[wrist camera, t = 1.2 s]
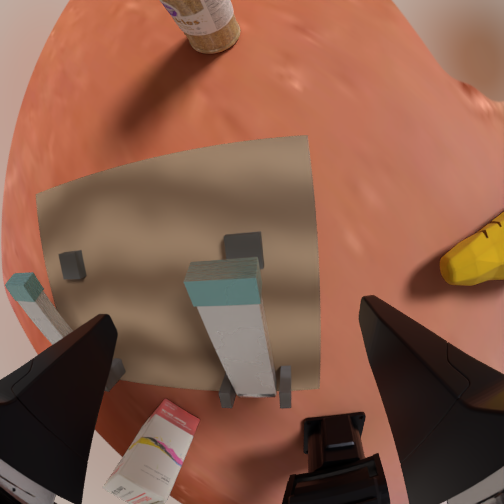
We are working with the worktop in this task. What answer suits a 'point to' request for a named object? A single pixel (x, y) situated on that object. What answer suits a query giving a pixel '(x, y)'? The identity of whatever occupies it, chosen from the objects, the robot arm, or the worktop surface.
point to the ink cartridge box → (154, 457)
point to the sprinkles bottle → (205, 23)
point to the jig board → (189, 257)
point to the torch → (476, 257)
